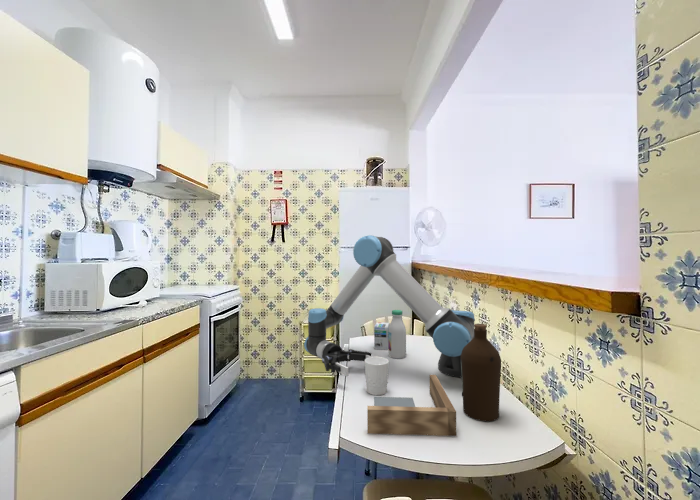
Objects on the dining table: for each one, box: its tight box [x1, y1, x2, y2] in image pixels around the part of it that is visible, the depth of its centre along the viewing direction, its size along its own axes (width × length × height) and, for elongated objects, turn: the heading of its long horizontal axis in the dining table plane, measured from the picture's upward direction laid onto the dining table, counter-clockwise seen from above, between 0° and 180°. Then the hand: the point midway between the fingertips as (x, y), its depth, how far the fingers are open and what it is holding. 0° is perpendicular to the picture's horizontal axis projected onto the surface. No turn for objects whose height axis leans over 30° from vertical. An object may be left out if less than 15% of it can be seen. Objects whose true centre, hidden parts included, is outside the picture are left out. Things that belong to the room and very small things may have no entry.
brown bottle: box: [461, 323, 502, 422], centre depth 91 cm, size 11×11×25 cm
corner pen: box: [366, 374, 457, 437], centre depth 92 cm, size 22×24×6 cm
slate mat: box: [373, 396, 416, 407], centre depth 94 cm, size 12×12×1 cm
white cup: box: [364, 356, 390, 396], centre depth 105 cm, size 8×8×10 cm
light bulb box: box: [373, 321, 391, 351], centre depth 155 cm, size 11×7×11 cm, turn 168°
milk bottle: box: [387, 309, 407, 359], centre depth 141 cm, size 8×8×20 cm
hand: (363, 367), depth 110 cm, fingers open, 13 cm apart
